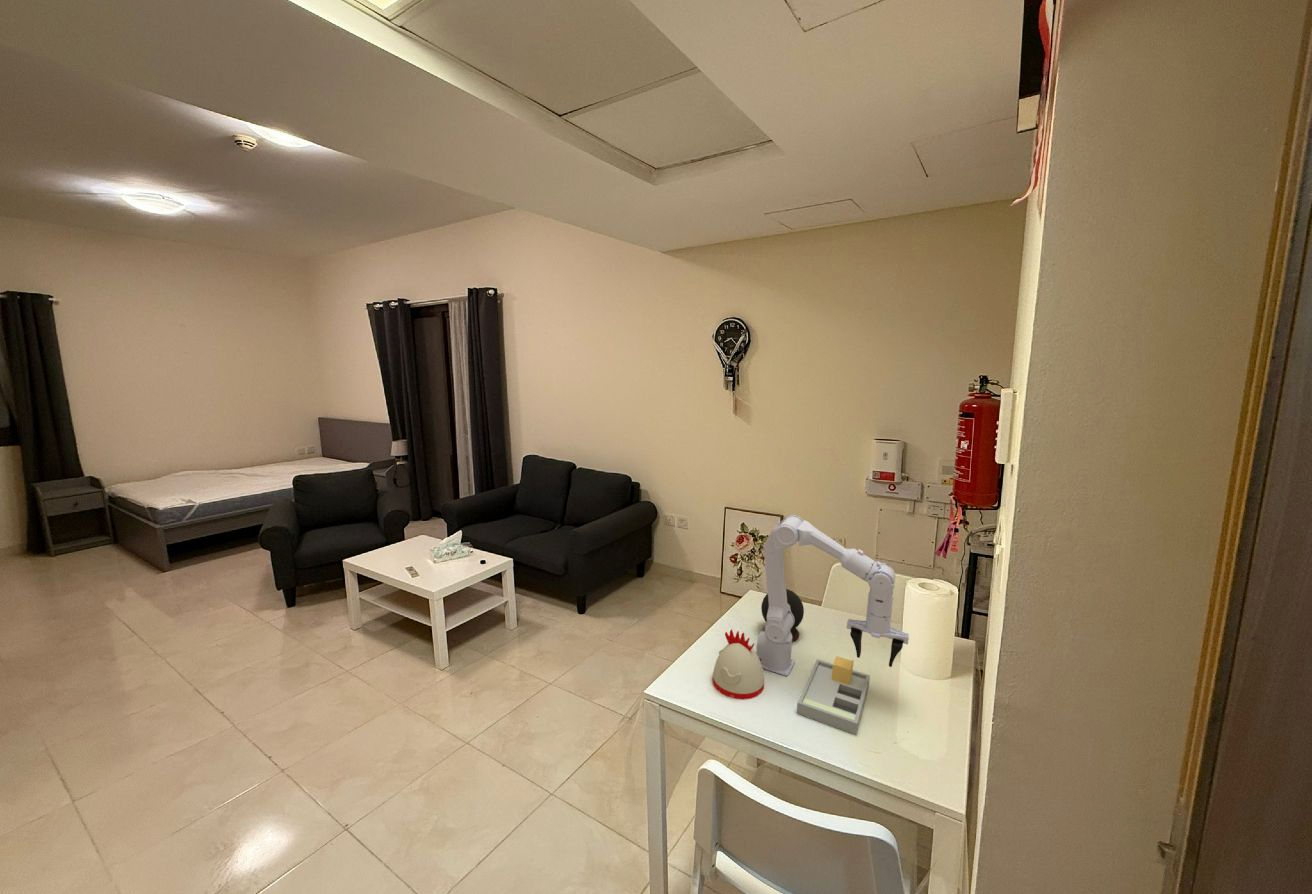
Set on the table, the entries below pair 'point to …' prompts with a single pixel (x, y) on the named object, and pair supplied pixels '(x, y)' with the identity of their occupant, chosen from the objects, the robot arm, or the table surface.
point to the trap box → (833, 698)
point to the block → (842, 670)
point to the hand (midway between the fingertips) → (874, 660)
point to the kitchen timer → (738, 669)
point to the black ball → (795, 608)
